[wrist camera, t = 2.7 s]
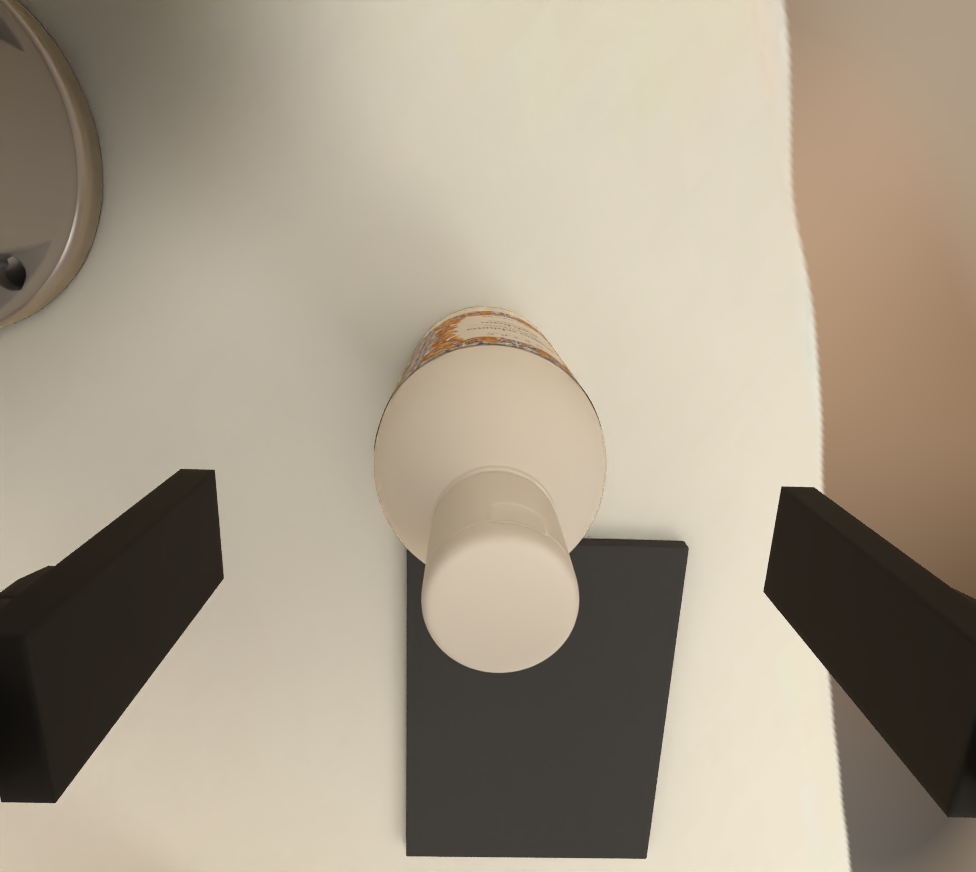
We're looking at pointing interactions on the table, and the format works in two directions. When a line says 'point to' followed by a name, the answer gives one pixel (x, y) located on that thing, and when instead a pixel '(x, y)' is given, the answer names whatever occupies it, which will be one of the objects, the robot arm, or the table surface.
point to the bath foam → (491, 485)
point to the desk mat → (549, 721)
